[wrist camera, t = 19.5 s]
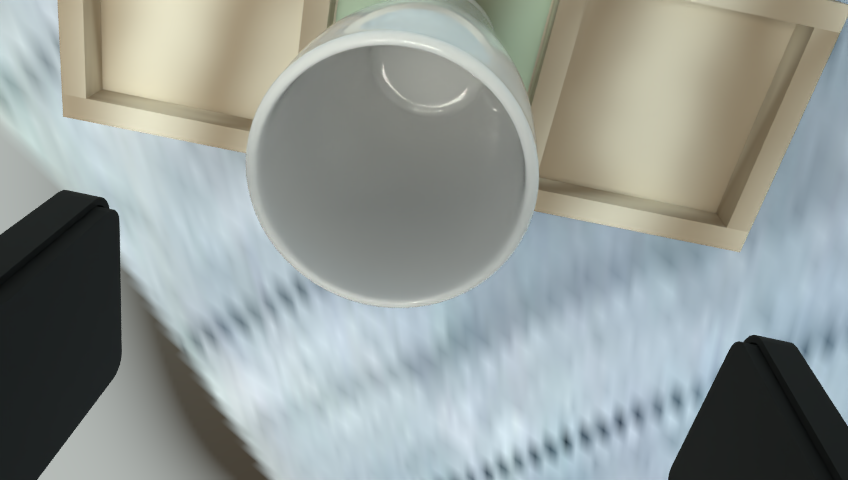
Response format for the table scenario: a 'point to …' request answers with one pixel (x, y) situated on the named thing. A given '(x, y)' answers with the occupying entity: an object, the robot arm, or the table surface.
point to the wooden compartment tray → (542, 76)
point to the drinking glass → (397, 154)
